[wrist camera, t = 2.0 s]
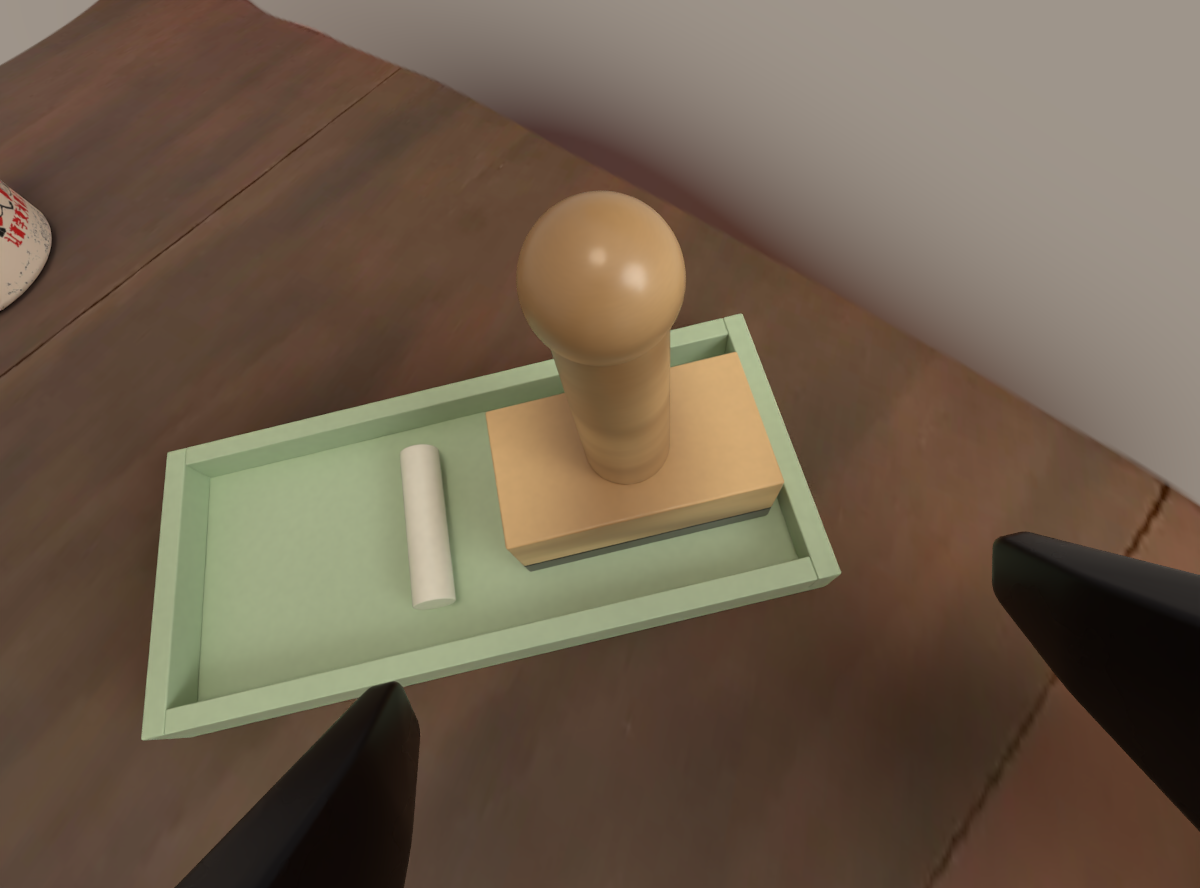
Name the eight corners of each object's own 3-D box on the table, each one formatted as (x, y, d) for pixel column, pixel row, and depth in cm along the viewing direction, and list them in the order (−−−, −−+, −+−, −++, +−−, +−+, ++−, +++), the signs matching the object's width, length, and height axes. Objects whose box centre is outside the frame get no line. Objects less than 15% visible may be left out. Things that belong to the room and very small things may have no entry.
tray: (736, 344, 26) (742, 312, 24) (825, 586, 22) (842, 573, 20) (206, 472, 26) (166, 452, 24) (190, 737, 22) (139, 741, 20)
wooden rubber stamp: (727, 398, 24) (791, 68, 12) (768, 515, 22) (898, 268, 10) (509, 451, 24) (339, 180, 12) (529, 572, 22) (349, 401, 10)
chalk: (400, 444, 23) (441, 442, 23) (398, 461, 24) (437, 459, 25) (414, 602, 20) (459, 596, 21) (411, 612, 22) (453, 606, 22)
